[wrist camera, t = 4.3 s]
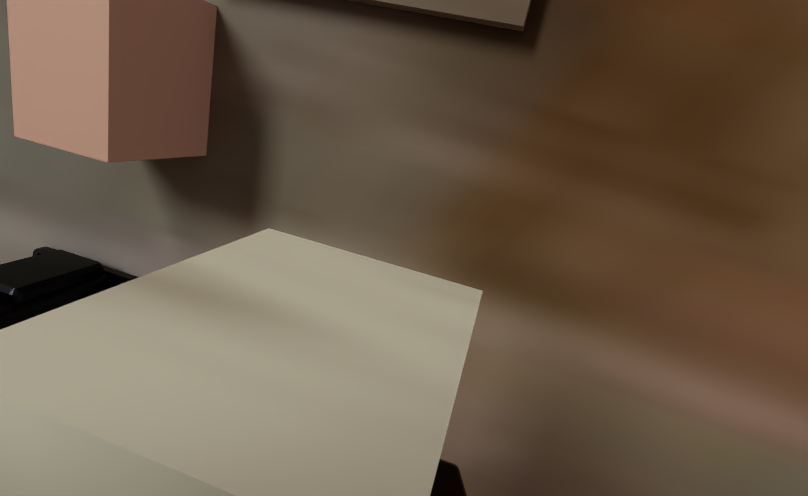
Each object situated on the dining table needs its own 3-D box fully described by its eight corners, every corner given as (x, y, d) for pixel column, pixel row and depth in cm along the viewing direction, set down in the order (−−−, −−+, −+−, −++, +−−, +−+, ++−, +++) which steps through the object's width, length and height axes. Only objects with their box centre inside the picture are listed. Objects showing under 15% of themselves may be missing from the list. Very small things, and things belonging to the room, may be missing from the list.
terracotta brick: (207, 155, 19) (108, 162, 15) (131, 135, 20) (14, 136, 16) (218, 6, 18) (109, -39, 13) (135, -10, 18) (4, -58, 14)
